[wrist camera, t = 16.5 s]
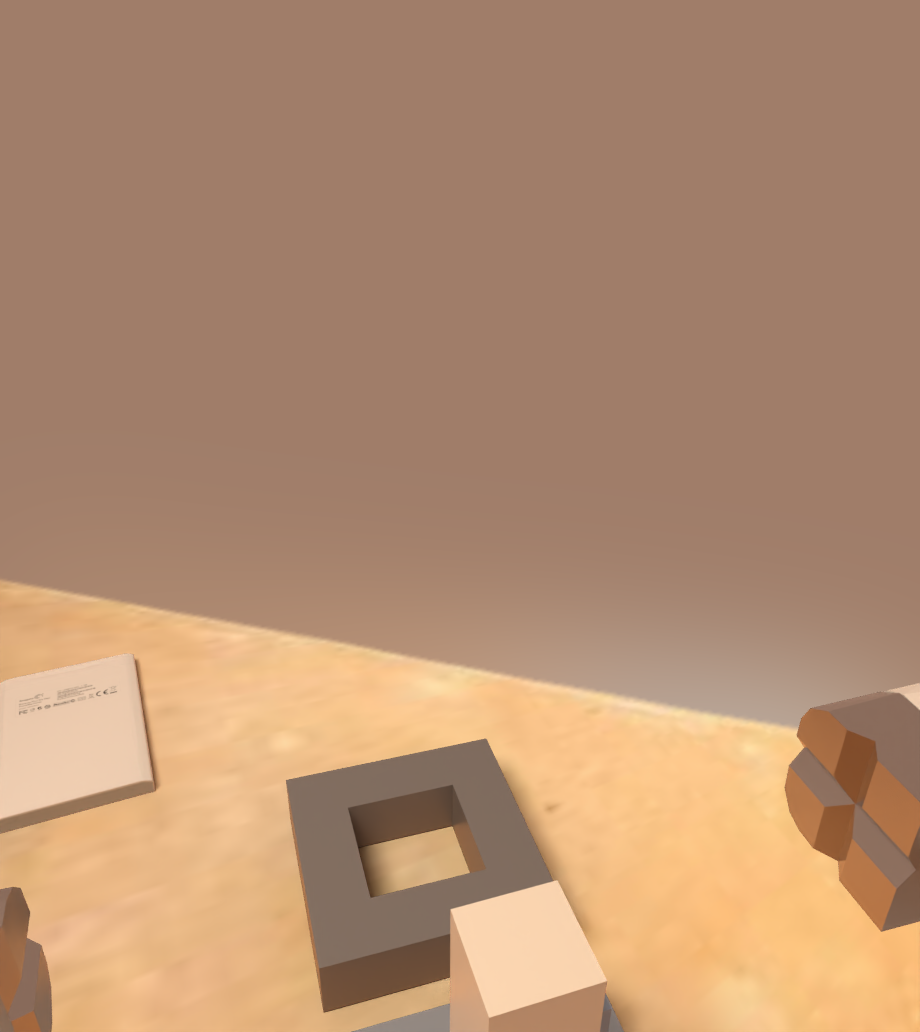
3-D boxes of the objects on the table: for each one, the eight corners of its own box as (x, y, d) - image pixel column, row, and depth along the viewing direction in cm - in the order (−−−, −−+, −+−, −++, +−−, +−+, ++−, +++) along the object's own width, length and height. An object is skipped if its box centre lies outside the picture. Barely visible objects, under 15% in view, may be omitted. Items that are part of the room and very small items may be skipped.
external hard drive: (-4, 843, 47) (3, 699, 57) (157, 799, 49) (137, 669, 59) (-12, 821, 46) (-3, 679, 56) (152, 777, 49) (133, 649, 59)
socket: (323, 1012, 38) (319, 968, 37) (290, 821, 47) (286, 780, 46) (559, 946, 41) (563, 903, 39) (484, 778, 50) (486, 738, 49)
